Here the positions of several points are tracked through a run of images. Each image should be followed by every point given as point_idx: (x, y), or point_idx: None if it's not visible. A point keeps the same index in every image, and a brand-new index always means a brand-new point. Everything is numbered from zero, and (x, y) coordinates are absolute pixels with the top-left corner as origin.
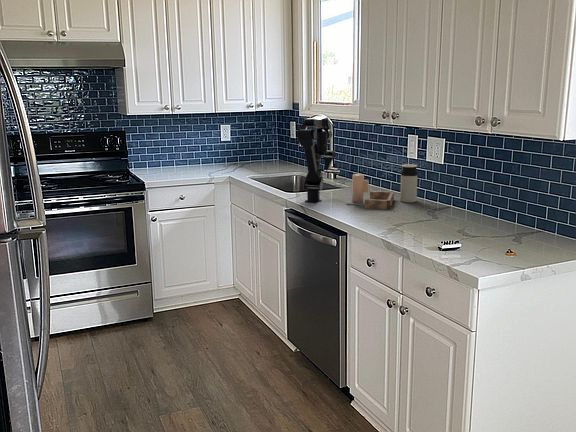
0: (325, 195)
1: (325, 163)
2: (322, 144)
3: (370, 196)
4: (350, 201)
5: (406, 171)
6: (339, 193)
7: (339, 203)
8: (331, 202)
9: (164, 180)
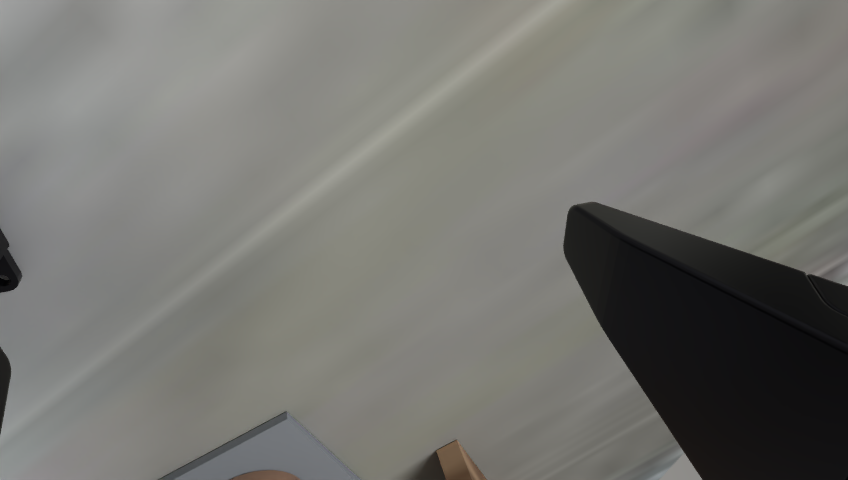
0: (348, 65)
1: (751, 338)
2: None
3: (444, 472)
4: (227, 467)
5: None
6: (553, 120)
7: (111, 443)
8: (73, 380)
9: None
